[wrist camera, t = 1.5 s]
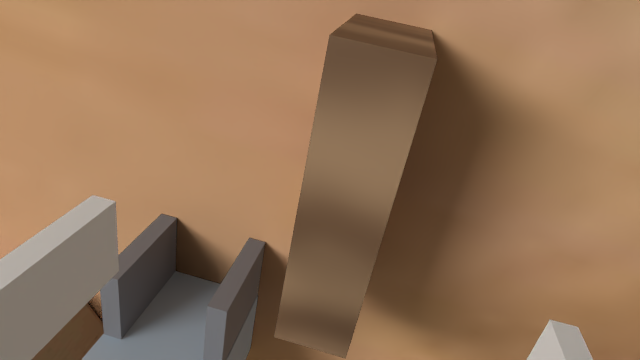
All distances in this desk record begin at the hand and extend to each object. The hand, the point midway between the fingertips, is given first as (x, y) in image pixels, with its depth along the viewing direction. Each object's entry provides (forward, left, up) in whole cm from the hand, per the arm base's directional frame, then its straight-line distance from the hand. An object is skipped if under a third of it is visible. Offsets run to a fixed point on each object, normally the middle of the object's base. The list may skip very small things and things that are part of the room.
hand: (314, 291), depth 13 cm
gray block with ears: (+15, -9, -14) cm, 22 cm away
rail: (+2, 0, -14) cm, 14 cm away
